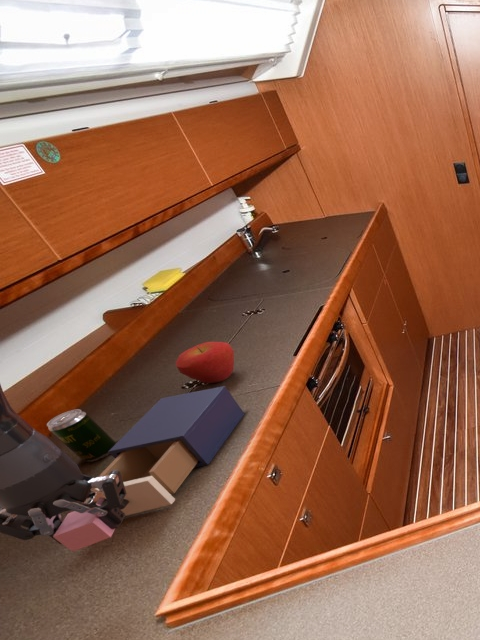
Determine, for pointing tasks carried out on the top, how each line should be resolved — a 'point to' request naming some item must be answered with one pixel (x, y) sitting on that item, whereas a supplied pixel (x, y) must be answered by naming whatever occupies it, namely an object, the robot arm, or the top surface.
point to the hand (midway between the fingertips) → (97, 531)
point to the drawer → (152, 475)
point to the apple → (207, 362)
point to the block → (82, 530)
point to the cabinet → (186, 423)
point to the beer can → (81, 435)
